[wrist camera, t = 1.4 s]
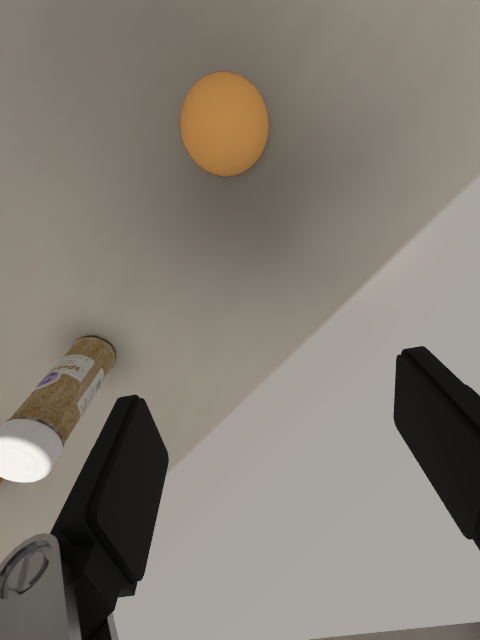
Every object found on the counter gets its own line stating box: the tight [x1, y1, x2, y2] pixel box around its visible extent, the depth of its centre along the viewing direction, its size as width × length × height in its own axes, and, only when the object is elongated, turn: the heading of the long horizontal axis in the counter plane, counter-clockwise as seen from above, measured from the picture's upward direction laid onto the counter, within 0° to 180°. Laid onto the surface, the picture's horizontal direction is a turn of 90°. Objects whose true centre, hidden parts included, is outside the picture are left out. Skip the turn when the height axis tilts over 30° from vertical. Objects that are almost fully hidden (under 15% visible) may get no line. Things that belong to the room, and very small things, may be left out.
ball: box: [180, 72, 269, 176], centre depth 21 cm, size 6×6×6 cm
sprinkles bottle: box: [0, 337, 115, 482], centre depth 26 cm, size 5×5×13 cm
